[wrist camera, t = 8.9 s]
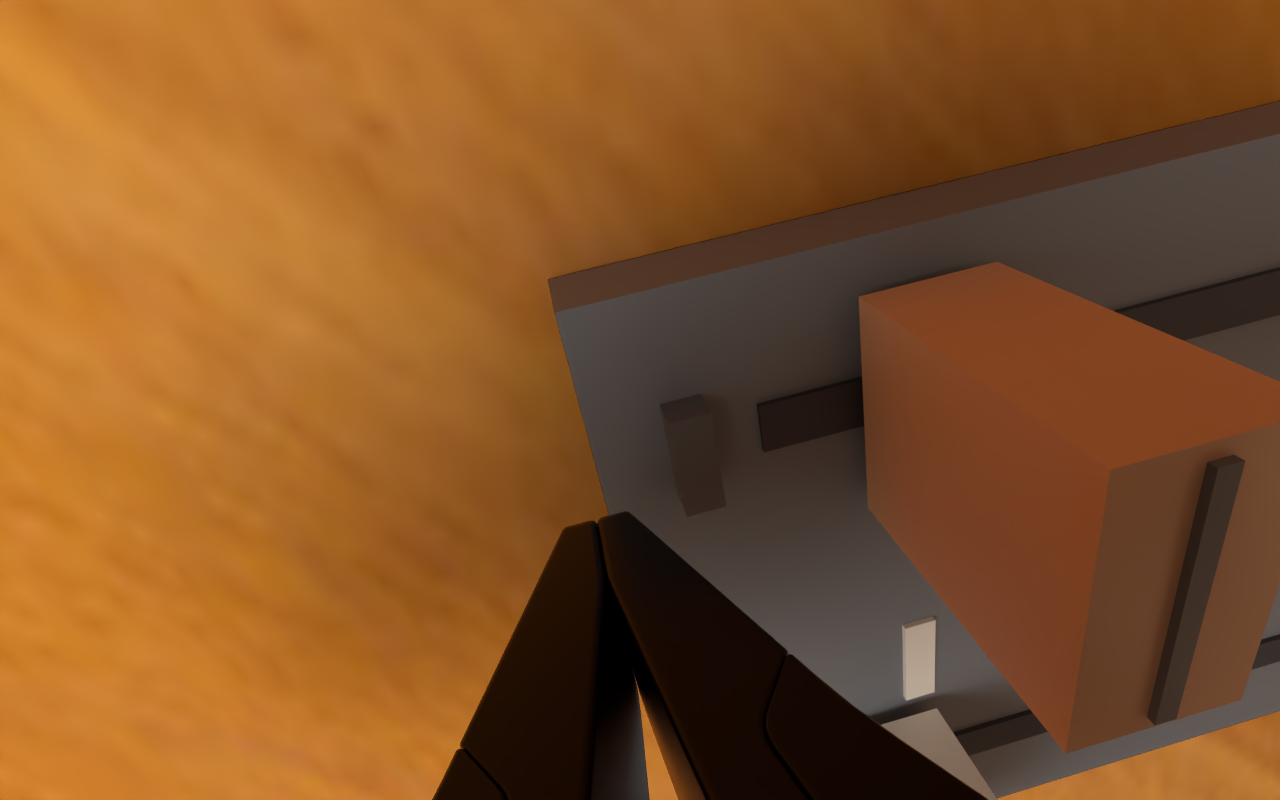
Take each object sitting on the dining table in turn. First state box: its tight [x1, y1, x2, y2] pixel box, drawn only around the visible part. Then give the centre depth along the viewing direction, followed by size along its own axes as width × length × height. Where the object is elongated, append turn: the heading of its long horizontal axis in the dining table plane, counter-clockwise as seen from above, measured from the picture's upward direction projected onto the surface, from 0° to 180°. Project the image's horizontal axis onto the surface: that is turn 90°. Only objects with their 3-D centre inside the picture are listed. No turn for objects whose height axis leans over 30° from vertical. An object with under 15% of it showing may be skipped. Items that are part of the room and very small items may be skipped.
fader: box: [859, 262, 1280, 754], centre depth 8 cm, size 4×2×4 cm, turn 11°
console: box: [548, 101, 1280, 798], centre depth 13 cm, size 14×18×2 cm
